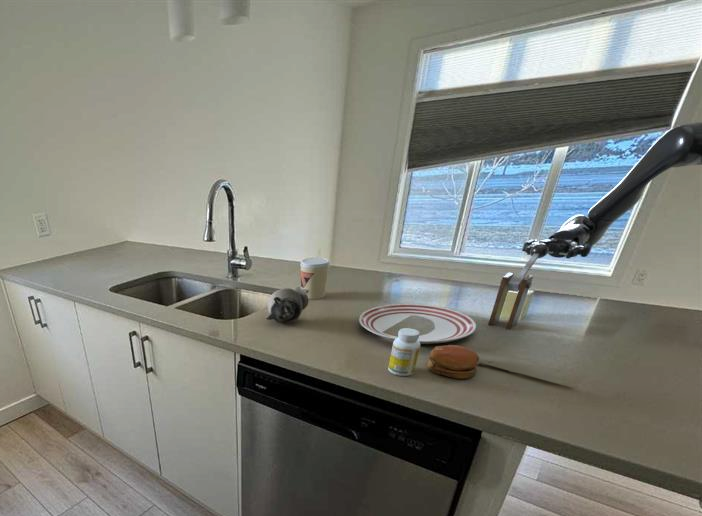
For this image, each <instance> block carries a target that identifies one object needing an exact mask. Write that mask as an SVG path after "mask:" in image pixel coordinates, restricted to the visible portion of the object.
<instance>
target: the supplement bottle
mask: <svg viewBox="0 0 702 516" xmlns="http://www.w3.org/2000/svg"><path fill="white" fill-rule="evenodd" d="M420 335H421V334H420V331H419V330H417V329H414V328H409V327H404V328H400V329H399V330H398V333H397V337H398V338H396V339H395V340H393V342H392V347H391V350H390V357H389V363H388V367H387V369H388V371H389V373H391V374H393V375H395V376H399V377H408V376H411V375H413V374H414V373H415V371H416V366H417V363H418V362H417V361H418V357H419V353H420V350H421V344H420V342H419V341H418V338H419V336H420Z"/></svg>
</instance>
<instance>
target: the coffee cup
mask: <svg viewBox="0 0 702 516" xmlns="http://www.w3.org/2000/svg"><path fill="white" fill-rule="evenodd" d="M330 264H331V262H330V260H329V259H328V258H325V257H309V258H304V259H302V260H301V262H300V288H301V289H303V290H304V291H306V294H307V296H308V299H309V300H320V299H323V298H324V297H325V295H326V290H327V289H326V288H327V282H328V275H329V269H330Z"/></svg>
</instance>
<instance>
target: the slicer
mask: <svg viewBox="0 0 702 516" xmlns="http://www.w3.org/2000/svg"><path fill="white" fill-rule="evenodd" d="M513 276H515V273H513V272H508V273H506V274H505V275H503V276H502V278H501V280H500V283H499V288H498V291H497V294H496V297H495V301H494V304H493V308H492V310H491V314H490V317H489V320H488V324H487V326H491V327H493V326H494V325H496V324H497V323H498V322H499V321H500V318H501V317H500V316H501V313H502V310H503V307H504V304H505V300H506V297H507V294H508V292H509V290H507V289H508V283H509V281H510V280H511V279H512V277H513ZM533 279H534V275H531V274H530V275H527V276H525V277H524V279H522V282H521V285H520V288H519V291H518V294H517V297H516V300H515V303H514V306H513V309H512V312H511V315H510V318H508V321H507V324H506V327H505V330H509V331H511V330H513V328H515V327H516V326H517V325H518V322H519V320H518V319H519V316H520V314H521V311H522V308H523V305H524V302H525V299H526V296H527V293H528V290H530V289H531V288H532V285H533V283H532V281H533Z"/></svg>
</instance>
